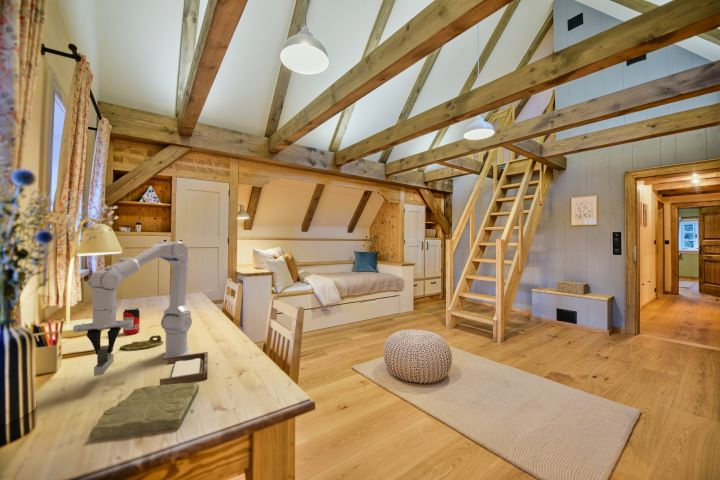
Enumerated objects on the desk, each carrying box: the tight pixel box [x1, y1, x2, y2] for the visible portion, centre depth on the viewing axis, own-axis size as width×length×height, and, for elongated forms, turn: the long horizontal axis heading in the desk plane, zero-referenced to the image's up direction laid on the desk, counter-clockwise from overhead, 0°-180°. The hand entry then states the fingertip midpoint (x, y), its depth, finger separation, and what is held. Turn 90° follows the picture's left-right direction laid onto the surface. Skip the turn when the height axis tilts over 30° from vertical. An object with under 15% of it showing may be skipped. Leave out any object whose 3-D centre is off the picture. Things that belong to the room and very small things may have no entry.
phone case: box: [170, 358, 203, 377], centre depth 108 cm, size 9×2×16 cm
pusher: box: [93, 344, 115, 377], centre depth 99 cm, size 12×2×6 cm, turn 25°
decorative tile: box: [90, 382, 200, 441], centre depth 82 cm, size 19×20×4 cm
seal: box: [119, 335, 164, 352], centre depth 132 cm, size 9×5×15 cm
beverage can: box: [122, 306, 141, 336], centre depth 151 cm, size 6×6×12 cm
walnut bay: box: [159, 351, 209, 385], centre depth 108 cm, size 21×13×2 cm, turn 25°
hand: (104, 352), depth 99 cm, fingers closed on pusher, 2 cm apart
